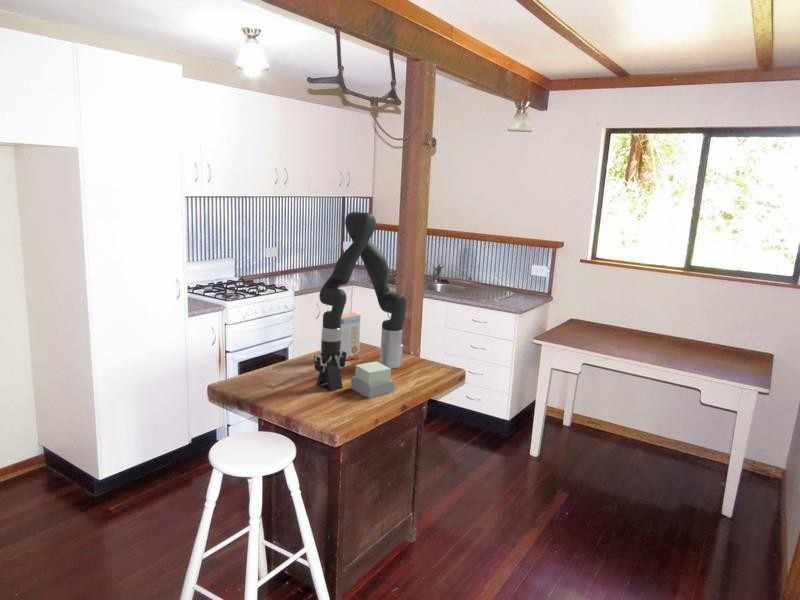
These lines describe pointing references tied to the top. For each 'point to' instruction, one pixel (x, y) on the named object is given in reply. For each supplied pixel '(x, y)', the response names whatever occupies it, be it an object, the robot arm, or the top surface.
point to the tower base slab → (372, 387)
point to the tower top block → (373, 373)
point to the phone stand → (331, 377)
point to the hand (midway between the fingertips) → (329, 378)
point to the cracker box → (350, 335)
